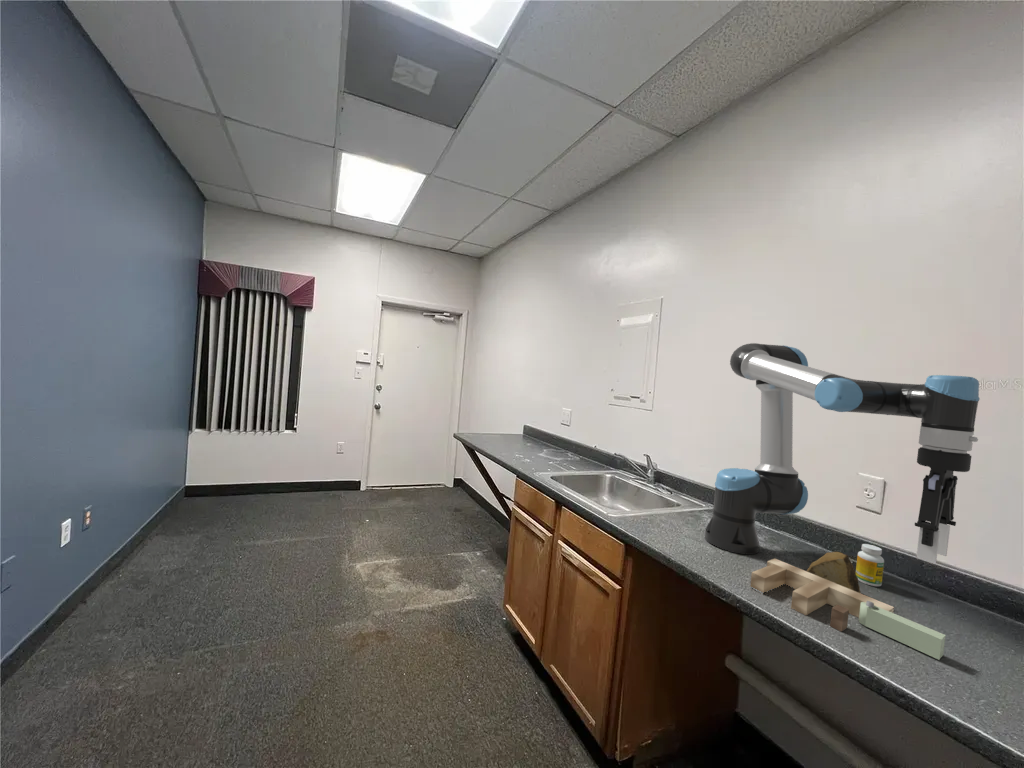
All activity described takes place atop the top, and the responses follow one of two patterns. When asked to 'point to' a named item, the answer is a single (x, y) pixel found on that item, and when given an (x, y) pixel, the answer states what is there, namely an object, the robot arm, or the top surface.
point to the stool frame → (812, 592)
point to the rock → (836, 570)
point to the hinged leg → (902, 629)
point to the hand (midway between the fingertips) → (931, 556)
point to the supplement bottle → (870, 565)
